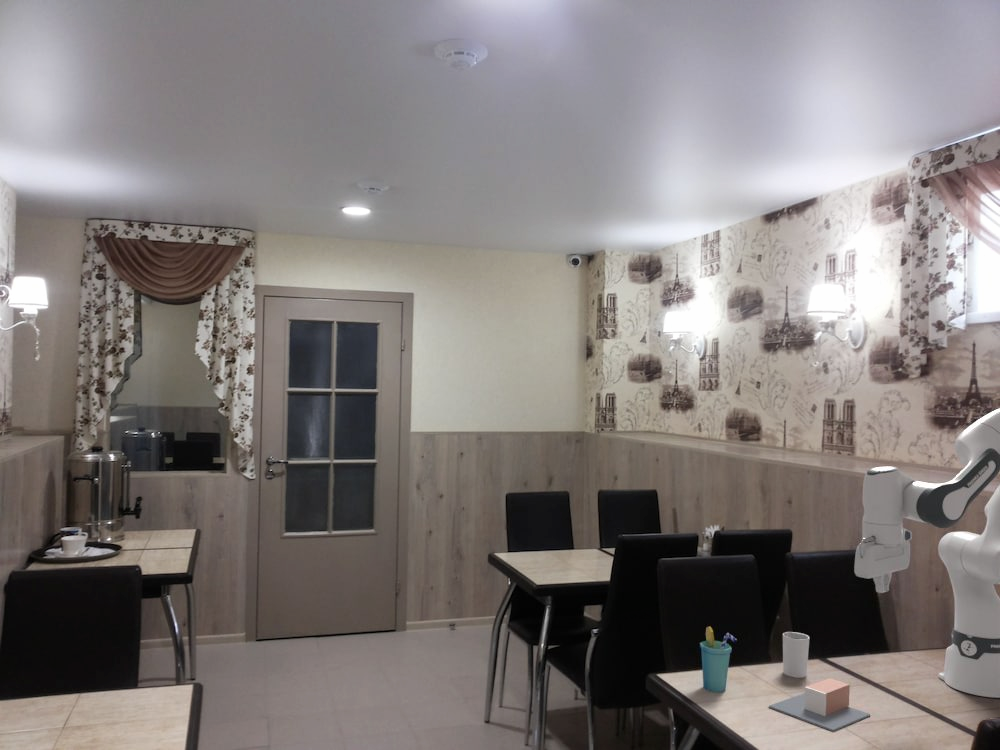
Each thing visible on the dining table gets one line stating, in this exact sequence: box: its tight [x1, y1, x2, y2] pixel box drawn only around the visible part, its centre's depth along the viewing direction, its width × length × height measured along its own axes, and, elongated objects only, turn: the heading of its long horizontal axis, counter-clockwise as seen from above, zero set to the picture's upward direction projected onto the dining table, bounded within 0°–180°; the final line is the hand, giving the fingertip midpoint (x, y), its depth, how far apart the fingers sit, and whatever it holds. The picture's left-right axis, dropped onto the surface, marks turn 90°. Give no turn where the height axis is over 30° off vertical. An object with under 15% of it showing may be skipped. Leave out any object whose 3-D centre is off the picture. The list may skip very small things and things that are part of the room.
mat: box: [768, 692, 871, 733], centre depth 189 cm, size 16×16×1 cm
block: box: [804, 677, 851, 716], centre depth 191 cm, size 5×5×11 cm
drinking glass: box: [782, 631, 810, 679], centre depth 215 cm, size 7×7×10 cm
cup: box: [699, 626, 738, 693], centre depth 201 cm, size 14×8×15 cm, turn 20°
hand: (882, 591), depth 197 cm, fingers closed
